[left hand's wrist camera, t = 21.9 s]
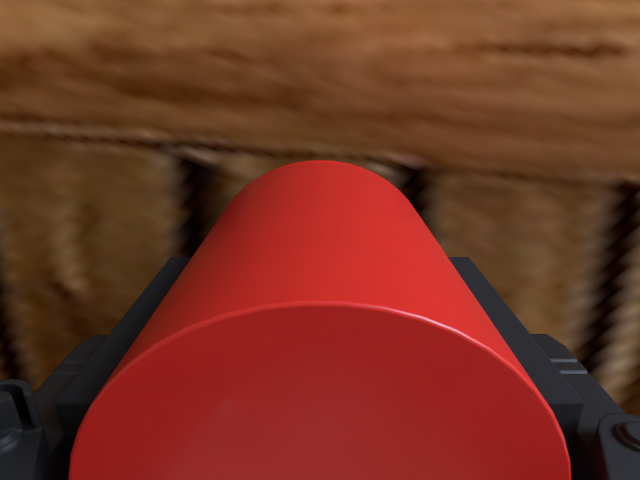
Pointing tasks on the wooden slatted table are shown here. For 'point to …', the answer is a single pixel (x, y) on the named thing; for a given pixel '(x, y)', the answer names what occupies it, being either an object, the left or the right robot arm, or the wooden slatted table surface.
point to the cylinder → (319, 354)
